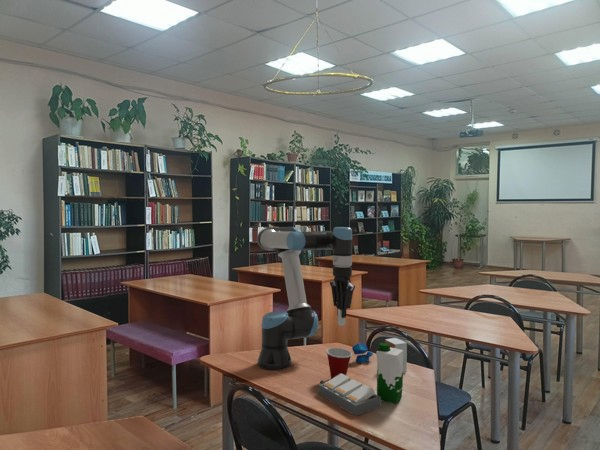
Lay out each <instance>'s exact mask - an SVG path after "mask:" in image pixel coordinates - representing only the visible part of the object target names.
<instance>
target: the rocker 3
mask: <svg viewBox="0 0 600 450" xmlns="http://www.w3.org/2000/svg"><path fill="white" fill-rule="evenodd" d="M374 394H375V389H374V388H372V387H370V386H368V385H366V384H362V386H361V387H360V388H358V389H357V390H355V391H354V392H352V393H350V394H349V395H347V396H346V398H347V399H348V400H350V401H352V402H354V403H355V404H356V403H359V402H362V401H365V400H366V399H368V398H369V397H371V396H372V395H374Z"/></svg>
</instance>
